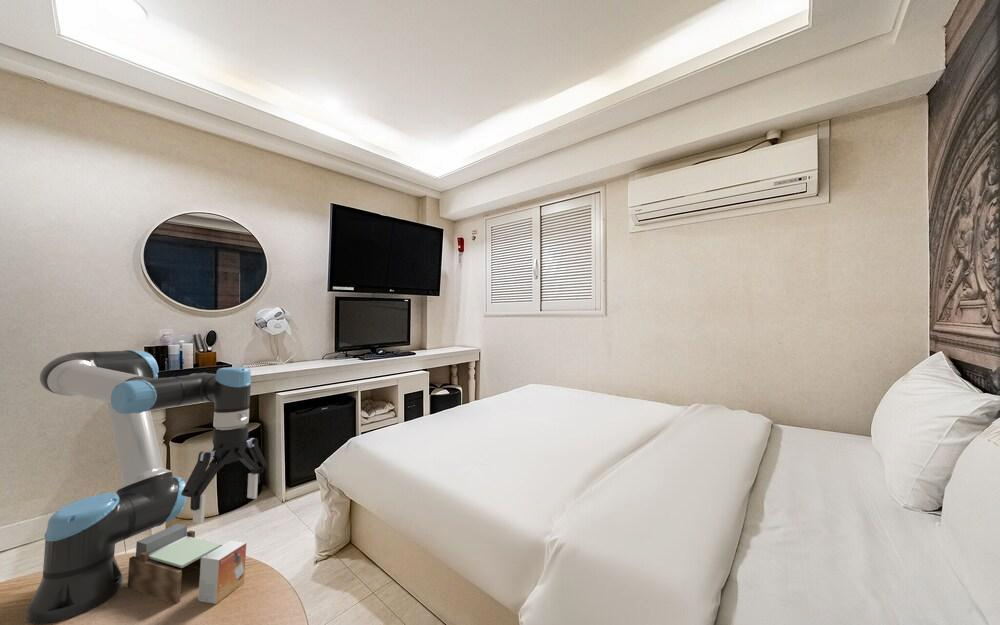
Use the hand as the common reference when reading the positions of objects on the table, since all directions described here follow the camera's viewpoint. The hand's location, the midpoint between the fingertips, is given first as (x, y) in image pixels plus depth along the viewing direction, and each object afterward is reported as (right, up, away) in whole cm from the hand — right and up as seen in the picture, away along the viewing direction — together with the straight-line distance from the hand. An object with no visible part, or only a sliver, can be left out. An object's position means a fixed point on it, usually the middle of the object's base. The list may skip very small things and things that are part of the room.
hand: (227, 509), depth 93 cm
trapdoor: (-16, -16, +3) cm, 22 cm away
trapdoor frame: (-15, -21, +3) cm, 26 cm away
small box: (0, -21, -1) cm, 21 cm away
